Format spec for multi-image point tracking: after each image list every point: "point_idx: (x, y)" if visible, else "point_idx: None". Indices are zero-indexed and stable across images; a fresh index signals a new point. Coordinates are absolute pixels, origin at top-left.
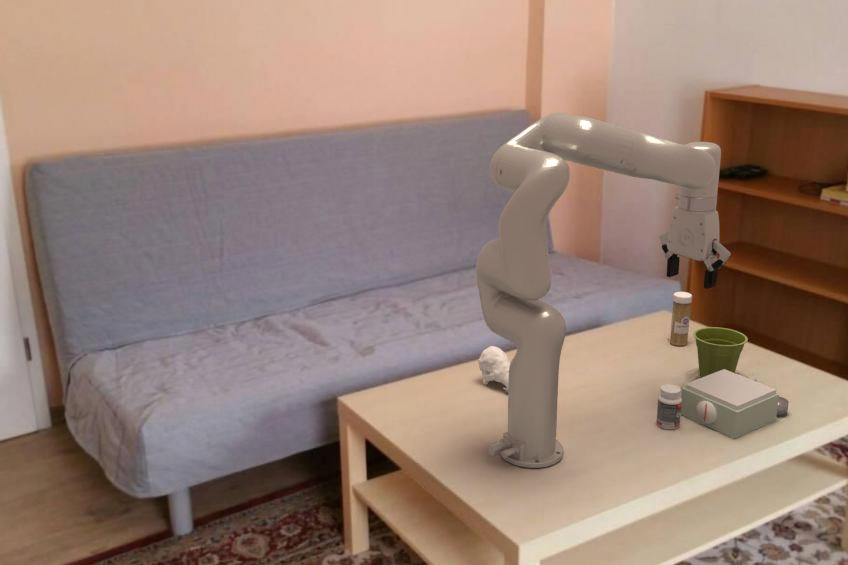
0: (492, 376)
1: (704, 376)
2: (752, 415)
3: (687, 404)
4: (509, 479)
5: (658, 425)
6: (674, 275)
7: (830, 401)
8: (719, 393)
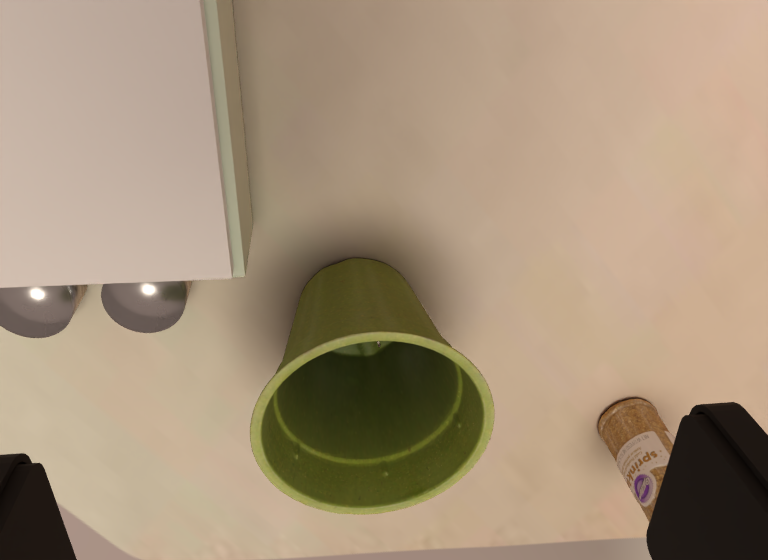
0: None
1: (364, 268)
2: None
3: None
4: None
5: None
6: (661, 488)
7: (41, 461)
8: (10, 36)
